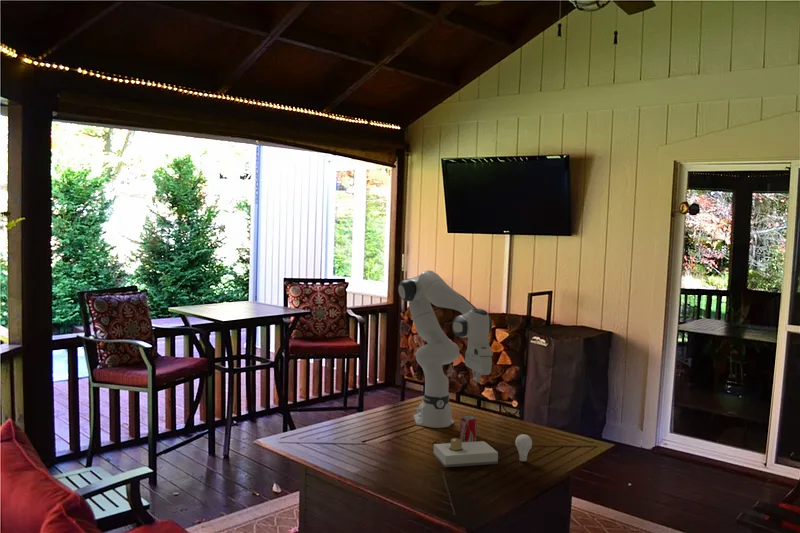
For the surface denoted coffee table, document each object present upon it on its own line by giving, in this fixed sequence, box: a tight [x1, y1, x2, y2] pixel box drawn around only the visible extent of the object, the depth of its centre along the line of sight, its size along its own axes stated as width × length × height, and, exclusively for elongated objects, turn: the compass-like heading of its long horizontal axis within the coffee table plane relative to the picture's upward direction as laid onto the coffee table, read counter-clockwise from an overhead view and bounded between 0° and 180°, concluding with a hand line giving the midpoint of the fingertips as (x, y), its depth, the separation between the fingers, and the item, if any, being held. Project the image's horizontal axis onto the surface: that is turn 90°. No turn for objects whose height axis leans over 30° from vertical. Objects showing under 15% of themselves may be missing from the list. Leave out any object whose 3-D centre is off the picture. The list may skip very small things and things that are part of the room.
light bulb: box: [514, 434, 533, 463], centre depth 252 cm, size 7×7×11 cm
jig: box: [432, 440, 499, 468], centre depth 252 cm, size 14×22×4 cm, turn 106°
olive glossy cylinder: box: [450, 437, 462, 451], centre depth 252 cm, size 4×4×7 cm
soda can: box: [459, 414, 478, 442], centre depth 271 cm, size 7×7×12 cm
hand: (476, 381), depth 263 cm, fingers closed
